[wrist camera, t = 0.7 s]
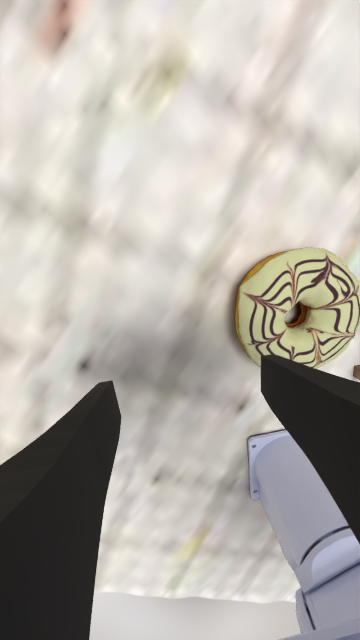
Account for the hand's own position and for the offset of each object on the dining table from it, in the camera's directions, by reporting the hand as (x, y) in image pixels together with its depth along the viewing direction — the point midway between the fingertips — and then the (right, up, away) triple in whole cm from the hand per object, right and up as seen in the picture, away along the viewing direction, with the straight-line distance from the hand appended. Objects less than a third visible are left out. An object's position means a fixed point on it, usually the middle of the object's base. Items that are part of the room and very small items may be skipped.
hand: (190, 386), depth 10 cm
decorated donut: (+9, +4, +10) cm, 14 cm away
